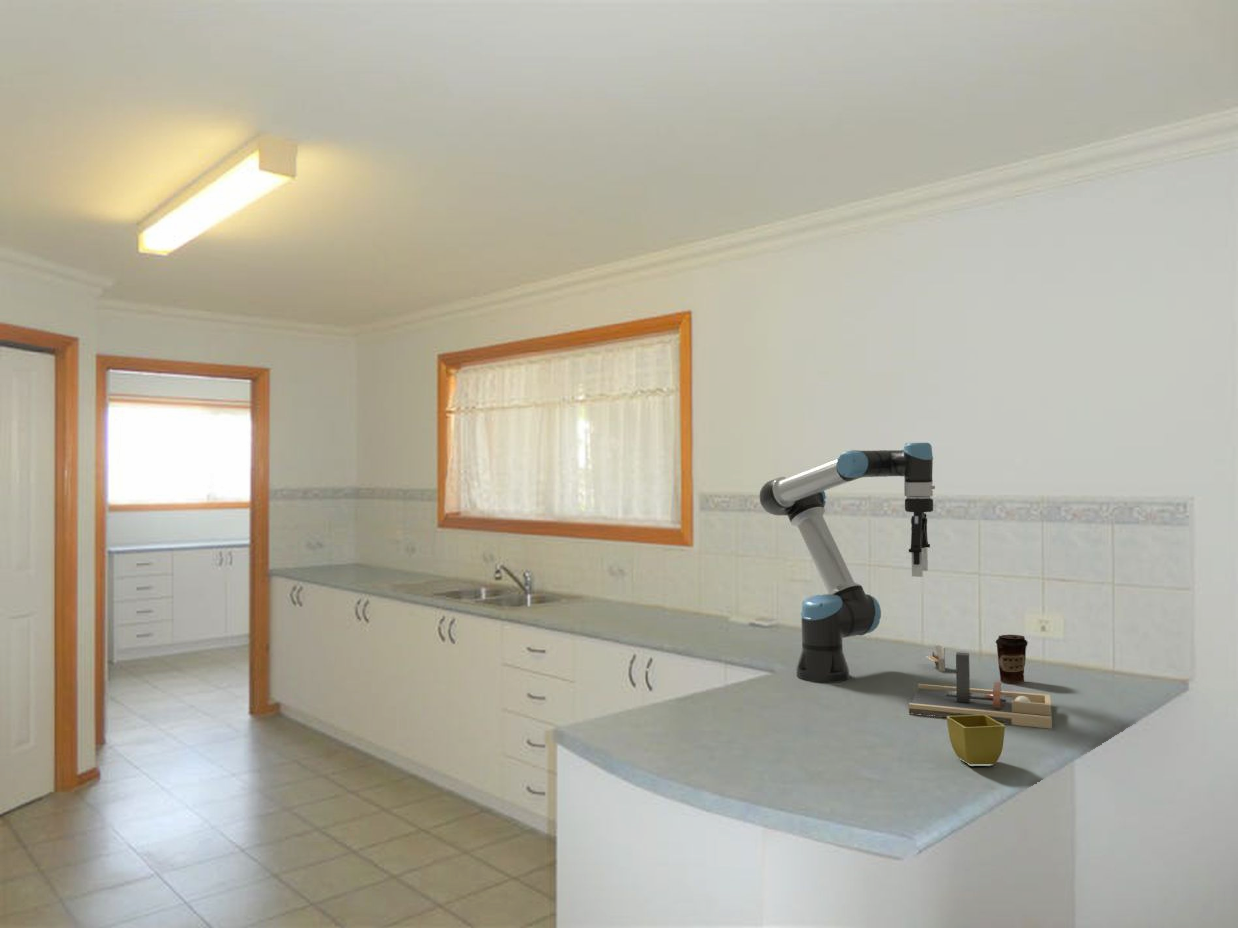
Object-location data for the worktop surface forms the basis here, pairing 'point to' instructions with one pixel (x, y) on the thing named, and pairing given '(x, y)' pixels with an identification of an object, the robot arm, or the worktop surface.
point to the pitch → (984, 706)
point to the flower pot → (976, 738)
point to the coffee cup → (1011, 658)
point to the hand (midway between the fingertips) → (919, 573)
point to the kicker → (964, 684)
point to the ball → (1022, 699)
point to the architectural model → (938, 658)
